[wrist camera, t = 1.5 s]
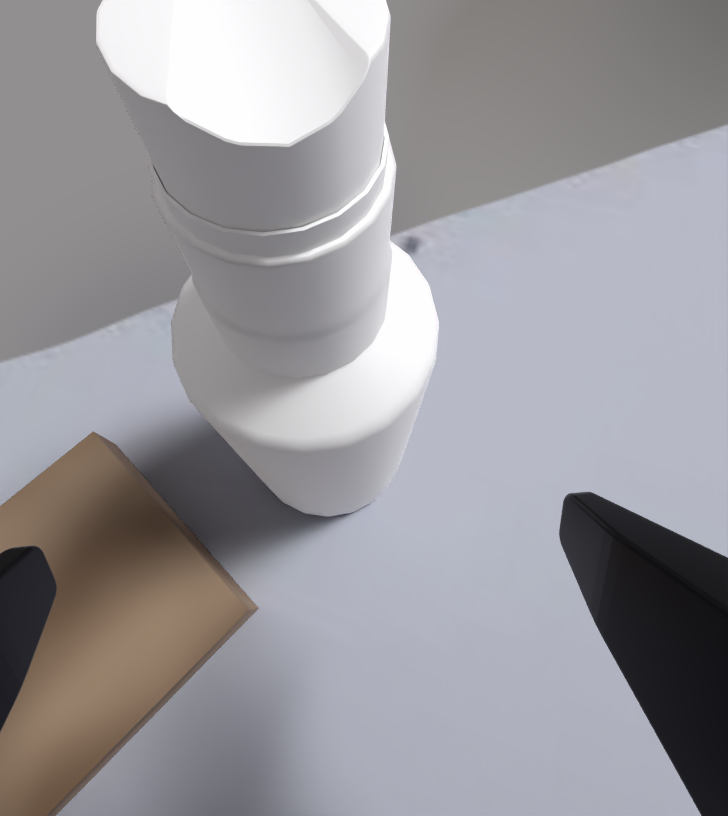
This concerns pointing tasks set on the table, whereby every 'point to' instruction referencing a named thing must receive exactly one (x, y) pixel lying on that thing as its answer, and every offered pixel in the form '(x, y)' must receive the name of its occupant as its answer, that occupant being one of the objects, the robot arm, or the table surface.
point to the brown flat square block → (105, 621)
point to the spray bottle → (282, 232)
